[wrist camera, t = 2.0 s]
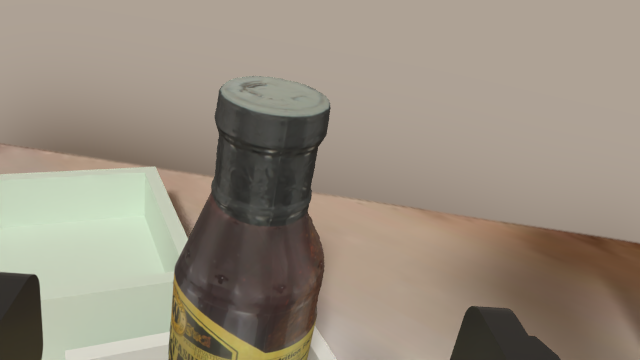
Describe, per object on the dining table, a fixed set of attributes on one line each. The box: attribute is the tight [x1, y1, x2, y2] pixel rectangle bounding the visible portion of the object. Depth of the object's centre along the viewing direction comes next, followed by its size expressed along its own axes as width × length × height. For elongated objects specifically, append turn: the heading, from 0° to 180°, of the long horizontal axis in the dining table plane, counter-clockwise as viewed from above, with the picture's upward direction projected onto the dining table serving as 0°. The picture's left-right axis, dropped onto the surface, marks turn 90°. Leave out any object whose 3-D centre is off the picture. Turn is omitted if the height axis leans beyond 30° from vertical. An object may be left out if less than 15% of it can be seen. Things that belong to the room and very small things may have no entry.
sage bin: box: [0, 167, 188, 360], centre depth 38 cm, size 16×16×5 cm
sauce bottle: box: [168, 76, 330, 360], centre depth 24 cm, size 6×6×20 cm
